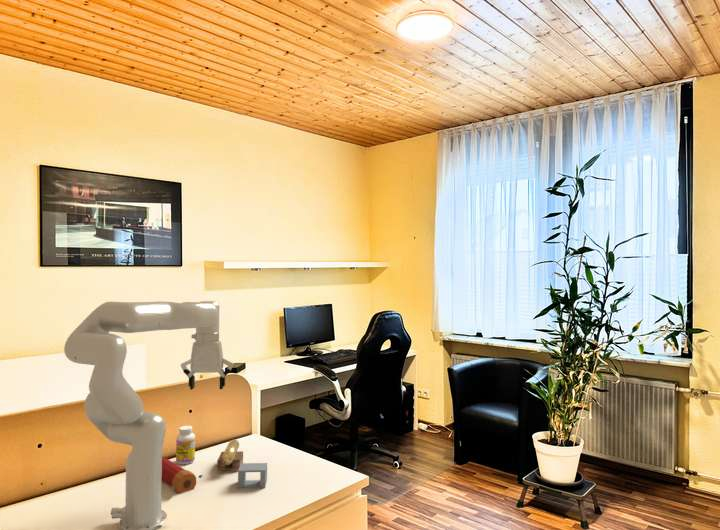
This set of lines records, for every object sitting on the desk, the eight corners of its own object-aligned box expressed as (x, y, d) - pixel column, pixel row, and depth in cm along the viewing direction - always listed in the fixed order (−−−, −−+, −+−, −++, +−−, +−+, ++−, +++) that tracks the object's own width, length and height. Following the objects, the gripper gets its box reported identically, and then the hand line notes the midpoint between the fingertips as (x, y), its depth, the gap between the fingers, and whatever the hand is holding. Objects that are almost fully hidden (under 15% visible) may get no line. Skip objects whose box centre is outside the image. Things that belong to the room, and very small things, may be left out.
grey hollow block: (265, 490, 167) (265, 470, 167) (237, 491, 166) (238, 470, 166) (267, 482, 173) (267, 462, 173) (240, 483, 172) (241, 463, 172)
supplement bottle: (172, 464, 188) (172, 429, 188) (183, 457, 194) (183, 424, 194) (187, 466, 186) (188, 431, 186) (198, 459, 192) (198, 425, 192)
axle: (232, 465, 177) (233, 453, 177) (220, 464, 176) (221, 453, 176) (239, 450, 191) (239, 439, 191) (228, 450, 190) (228, 439, 190)
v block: (217, 474, 179) (217, 460, 179) (221, 465, 187) (221, 451, 187) (239, 473, 180) (239, 459, 180) (243, 464, 188) (243, 451, 188)
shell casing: (176, 498, 161) (177, 476, 161) (151, 478, 175) (151, 458, 175) (197, 492, 166) (197, 470, 166) (170, 473, 180) (171, 453, 180)
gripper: (178, 339, 167) (177, 391, 167) (231, 339, 168) (231, 391, 168) (184, 336, 174) (183, 386, 174) (235, 336, 175) (234, 385, 175)
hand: (207, 388), depth 171 cm, fingers open, 9 cm apart
